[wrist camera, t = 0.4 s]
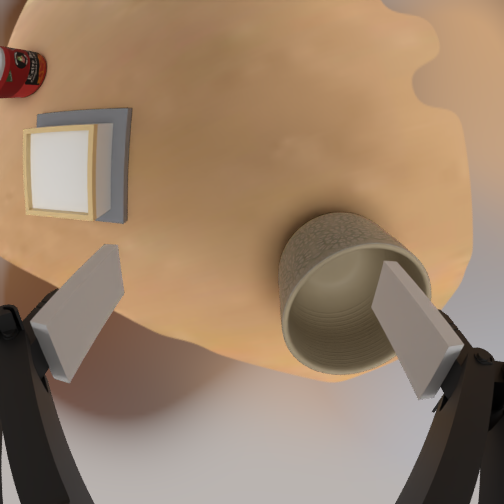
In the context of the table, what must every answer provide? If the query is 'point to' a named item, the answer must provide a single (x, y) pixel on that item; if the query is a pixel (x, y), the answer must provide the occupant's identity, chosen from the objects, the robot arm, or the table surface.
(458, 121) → the table surface
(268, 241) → the table surface
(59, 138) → the base
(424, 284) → the planter
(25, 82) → the canned food
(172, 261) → the table surface
